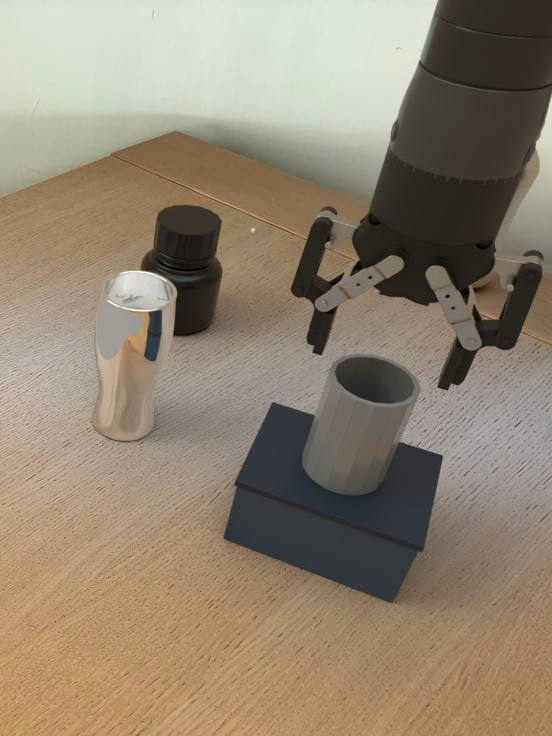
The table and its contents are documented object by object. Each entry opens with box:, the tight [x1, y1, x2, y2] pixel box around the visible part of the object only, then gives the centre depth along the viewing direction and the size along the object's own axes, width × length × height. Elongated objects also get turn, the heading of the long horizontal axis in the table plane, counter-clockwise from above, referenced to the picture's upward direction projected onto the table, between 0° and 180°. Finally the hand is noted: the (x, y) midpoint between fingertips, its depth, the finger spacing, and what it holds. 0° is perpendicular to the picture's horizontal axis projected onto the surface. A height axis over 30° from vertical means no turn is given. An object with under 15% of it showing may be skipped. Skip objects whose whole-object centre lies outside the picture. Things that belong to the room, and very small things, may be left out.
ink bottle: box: [139, 204, 224, 335], centre depth 91 cm, size 10×9×12 cm
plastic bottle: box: [471, 121, 546, 289], centre depth 94 cm, size 6×7×20 cm
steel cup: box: [302, 353, 421, 496], centre depth 63 cm, size 6×6×9 cm
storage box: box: [223, 401, 444, 604], centre depth 68 cm, size 14×11×7 cm
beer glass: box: [91, 269, 177, 442], centre depth 76 cm, size 7×7×15 cm
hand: (379, 365), depth 59 cm, fingers open, 8 cm apart
